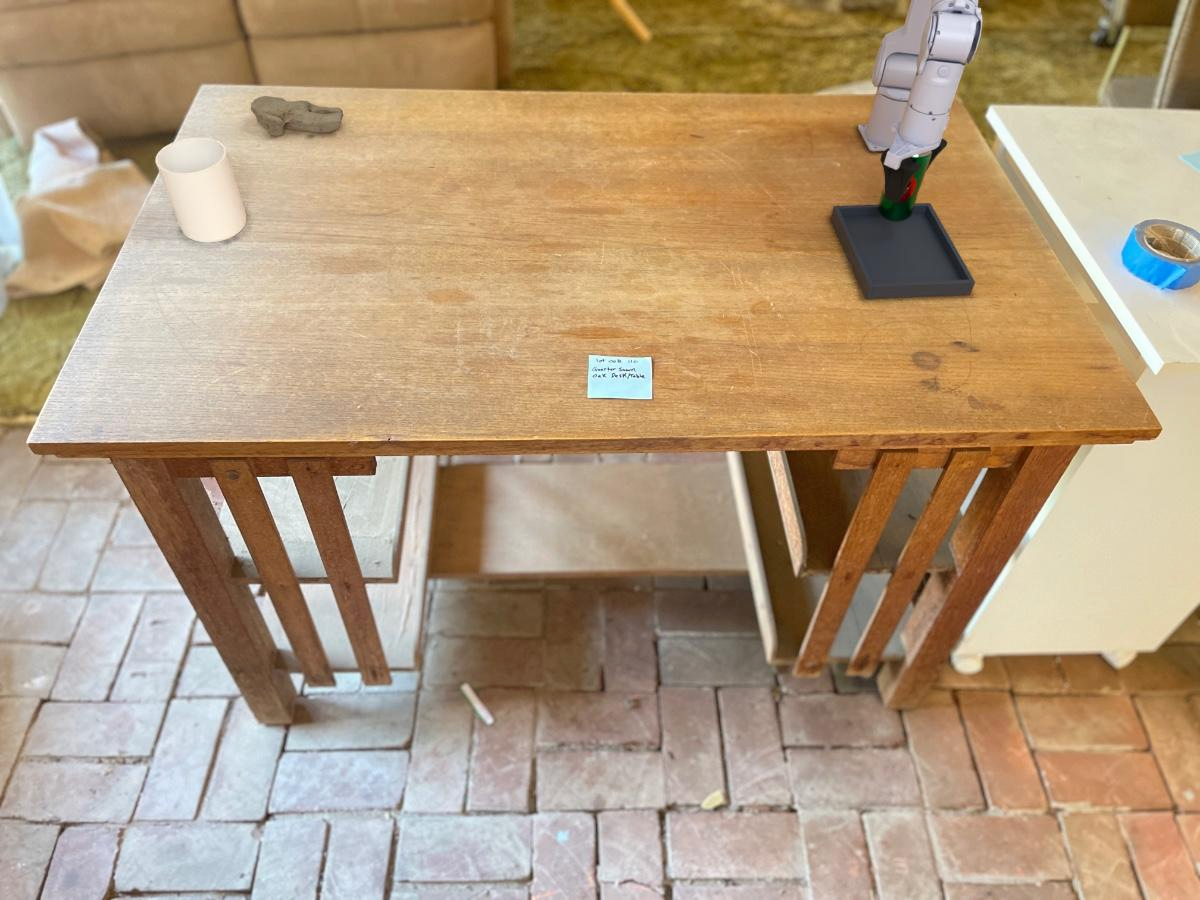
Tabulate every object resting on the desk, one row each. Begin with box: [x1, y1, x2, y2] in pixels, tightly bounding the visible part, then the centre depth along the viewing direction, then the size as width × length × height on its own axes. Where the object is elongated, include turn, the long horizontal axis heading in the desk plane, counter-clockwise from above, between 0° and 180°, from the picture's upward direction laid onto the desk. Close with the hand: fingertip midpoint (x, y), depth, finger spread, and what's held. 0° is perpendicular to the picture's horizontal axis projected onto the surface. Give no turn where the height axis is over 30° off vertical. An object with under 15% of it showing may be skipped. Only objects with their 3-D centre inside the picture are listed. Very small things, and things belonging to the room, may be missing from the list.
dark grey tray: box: [830, 202, 976, 300], centre depth 136 cm, size 15×19×2 cm
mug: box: [154, 136, 247, 244], centre depth 133 cm, size 10×12×12 cm
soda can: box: [877, 150, 933, 222], centre depth 132 cm, size 5×5×12 cm
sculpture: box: [250, 95, 344, 137], centre depth 154 cm, size 7×5×15 cm
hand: (901, 191), depth 134 cm, fingers closed on soda can, 5 cm apart
